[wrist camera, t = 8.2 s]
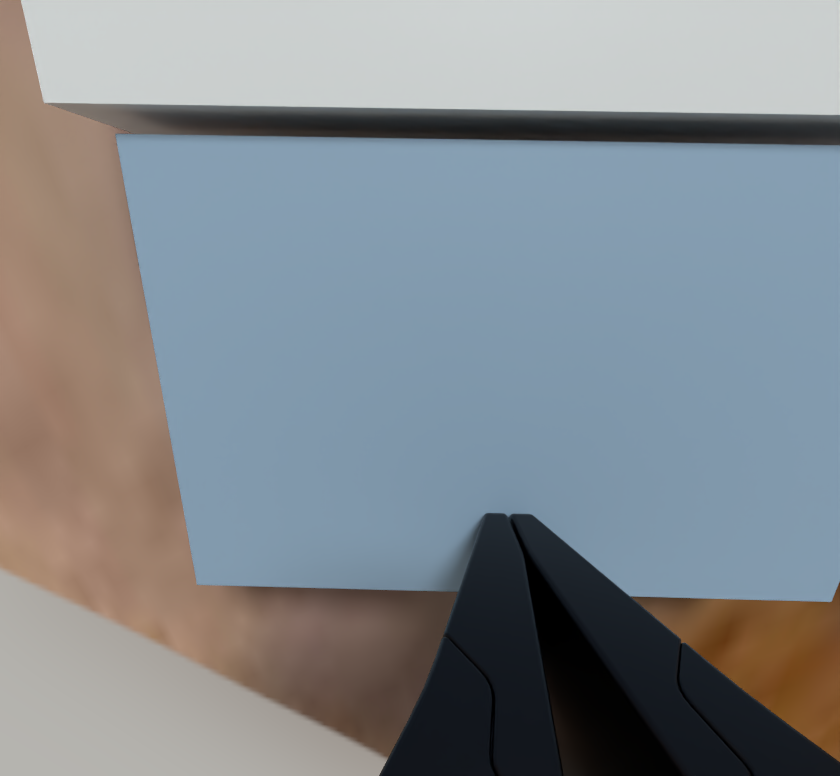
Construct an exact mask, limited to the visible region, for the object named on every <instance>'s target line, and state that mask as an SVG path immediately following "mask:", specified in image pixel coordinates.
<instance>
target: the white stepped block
mask: <svg viewBox="0 0 840 776" xmlns="http://www.w3.org/2000/svg"><path fill="white" fill-rule="evenodd" d="M21 2H22V7H23V11H24V16H25V20H26V25H27V29H28V34H29V38H30V43H31V47H32V52H33V56H34V61H35V65H36V69H37V74H38V78H39V83H40V87H41V92H42V96H43V101H44V103H46V104H49V105H52V106H55V107H58V108H61V109H64V110H67V111H69V112H72V113H75V114H78V115H81V116H84V117H87V118H90V119H93V120H96V121H99V122H102V123H105V124H107V125H110V126H113V127H116V128H119V129H122V130H125V131H128V132H131V133H134V134H163V135H225V136H288V137H350V138H412V139H475V140H537V141H599V142H662V143H724V144H786V145H840V0H21Z"/></svg>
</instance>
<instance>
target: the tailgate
mask: <svg viewBox="0 0 840 776" xmlns="http://www.w3.org/2000/svg"><path fill="white" fill-rule="evenodd" d="M115 135H116V140H117V146H118V151H119V157H120V162H121V168H122V173H123V179H124V184H125V190H126V195H127V201H128V206H129V212H130V217H131V223H132V228H133V234H134V239H135V245H136V250H137V256H138V262H139V267H140V273H141V278H142V284H143V289H144V295H145V300H146V306H147V311H148V317H149V322H150V328H151V333H152V339H153V344H154V350H155V355H156V361H157V366H158V372H159V377H160V383H161V388H162V394H163V399H164V405H165V410H166V416H167V421H168V427H169V432H170V438H171V443H172V449H173V454H174V460H175V465H176V471H177V476H178V482H179V487H180V493H181V498H182V504H183V510H184V515H185V521H186V526H187V532H188V537H189V543H190V548H191V554H192V559H193V565H194V570H195V576H196V581H197V585H224V586H261V587H299V588H336V589H373V590H411V591H448V592H458V591H459V588H460V585H461V582H462V579H463V576H464V573H465V570H466V567H467V564H468V561H469V558H470V555H471V553H472V550H473V547H474V544H475V541H476V538H477V535H478V532H479V529H480V526H481V523H482V520H483V517H484V515H485V514H486V513H504V514H506V515H507V516H508V518H509V516H510V515H511V514H513V513H514V514H532V515H533V516H535V517H536V518H537V519H538V520H539V521H541V522H542V523H543V524H544V525H545V526H547V527H548V528H549V529H550V530H551V531H553V532H554V533H555V534H556V535H557V536H559V537H560V538H561V539H562V540H563V541H565V542H566V543H567V544H568V545H569V546H570V547H572V548H573V549H574V550H575V551H576V552H578V553H579V554H580V555H581V556H582V557H584V558H585V559H586V560H587V561H588V562H590V563H591V564H592V565H593V566H594V567H596V568H597V569H598V570H599V571H600V572H601V573H603V574H604V575H605V576H606V577H607V578H609V579H610V580H611V581H612V582H613V583H615V584H616V585H617V586H618V587H619V588H621V589H622V590H623V591H624V592H625V593H626V594H628V595H629V596H635V597H672V598H710V599H747V600H784V601H822V602H831V601H832V599H833V596H834V594H835V591H836V589H837V586H838V584H839V581H840V145H786V144H724V143H662V142H599V141H537V140H475V139H412V138H350V137H288V136H225V135H163V134H115Z"/></svg>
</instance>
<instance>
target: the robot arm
mask: <svg viewBox="0 0 840 776" xmlns="http://www.w3.org/2000/svg"><path fill="white" fill-rule="evenodd" d="M379 776H840V762H839V761H837V760H836V759H835V758H833V757H832V756H831V755H829V754H828V753H826V752H825V751H824V750H822V749H821V748H820V747H818V746H817V745H816V744H814V743H813V742H811V741H810V740H809V739H807V738H806V737H805V736H803V735H802V734H801V733H799V732H798V731H797V730H795V729H794V728H792V727H791V726H790V725H788V724H787V723H786V722H784V721H783V720H782V719H781V718H779V717H778V716H777V715H775V714H774V713H773V712H771V711H770V710H769V709H767V708H766V707H765V706H763V705H762V704H761V703H759V702H758V701H757V700H755V699H754V698H753V697H751V696H750V695H749V694H748V693H746V692H745V691H744V690H742V689H741V688H740V687H739V686H737V685H736V684H735V683H734V682H733V681H731V680H730V679H729V678H728V677H726V676H725V675H724V674H723V673H721V672H720V671H719V670H718V669H716V668H715V667H714V666H713V665H712V664H710V663H709V662H708V661H707V660H705V659H704V658H703V657H702V656H701V655H699V654H698V653H697V652H696V651H695V650H693V649H692V648H691V647H690V646H689V645H688V644H686V643H682V644H681V639H680V638H679V637H678V636H677V635H675V634H674V633H673V632H672V631H671V630H669V629H668V628H667V627H666V626H665V625H663V624H662V623H661V622H660V621H659V620H657V619H656V618H655V617H654V616H653V615H652V614H650V613H649V612H648V611H647V610H646V609H644V608H643V607H642V606H641V605H640V604H638V603H637V602H636V601H635V600H634V599H632V598H631V597H630V596H629V595H628V594H626V593H625V592H624V591H623V590H622V589H621V588H619V587H618V586H617V585H616V584H615V583H613V582H612V581H611V580H610V579H609V578H607V577H606V576H605V575H604V574H603V573H601V572H600V571H599V570H598V569H597V568H596V567H594V566H593V565H592V564H591V563H590V562H588V561H587V560H586V559H585V558H584V557H582V556H581V555H580V554H579V553H578V552H576V551H575V550H574V549H573V548H572V547H570V546H569V545H568V544H567V543H566V542H565V541H563V540H562V539H561V538H560V537H559V536H557V535H556V534H555V533H554V532H553V531H551V530H550V529H549V528H548V527H547V526H545V525H544V524H543V523H542V522H541V521H539V520H538V519H537V518H536V517H535V516H533V515H532V514H514V513H513V514H511V515H510V516H509V518H508V516H507V515H506V514H504V513H486V514H485V515H484V517H483V520H482V523H481V526H480V529H479V532H478V535H477V538H476V541H475V544H474V547H473V550H472V553H471V555H470V558H469V561H468V564H467V567H466V570H465V573H464V576H463V579H462V582H461V585H460V588H459V591H458V594H457V597H456V600H455V603H454V605H453V608H452V611H451V614H450V617H449V620H448V623H447V626H446V629H445V632H444V635H443V638H442V640H441V643H440V646H439V649H438V651H437V654H436V657H435V660H434V662H433V665H432V668H431V670H430V673H429V675H428V678H427V680H426V683H425V686H424V688H423V690H422V692H421V694H420V696H419V698H418V701H417V703H416V705H415V707H414V709H413V711H412V713H411V715H410V717H409V720H408V721H407V723H406V725H405V727H404V729H403V731H402V733H401V735H400V737H399V739H398V741H397V743H396V744H395V746H394V748H393V750H392V752H391V754H390V756H389V758H388V760H387V762H386V764H385V766H384V767H383V769H382V771H381V773H380V775H379Z"/></svg>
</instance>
